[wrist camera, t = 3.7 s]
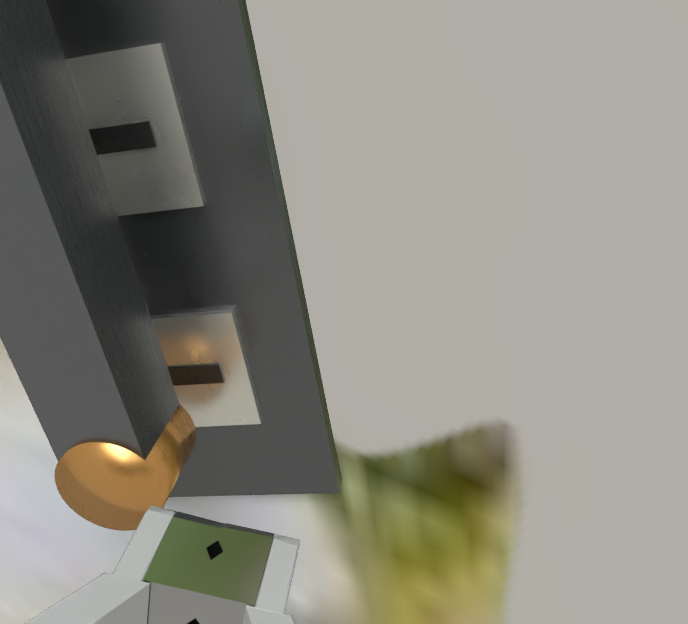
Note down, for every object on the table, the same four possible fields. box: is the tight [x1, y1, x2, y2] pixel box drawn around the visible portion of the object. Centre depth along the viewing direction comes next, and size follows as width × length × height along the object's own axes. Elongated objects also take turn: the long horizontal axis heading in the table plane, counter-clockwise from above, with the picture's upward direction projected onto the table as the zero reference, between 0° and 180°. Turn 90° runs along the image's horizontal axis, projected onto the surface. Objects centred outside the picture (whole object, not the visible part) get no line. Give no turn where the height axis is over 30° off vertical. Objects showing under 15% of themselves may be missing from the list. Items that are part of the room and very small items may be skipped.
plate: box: [46, 0, 342, 497], centre depth 22 cm, size 12×22×1 cm, turn 9°
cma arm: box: [0, 0, 196, 530], centre depth 16 cm, size 25×4×3 cm, turn 9°
